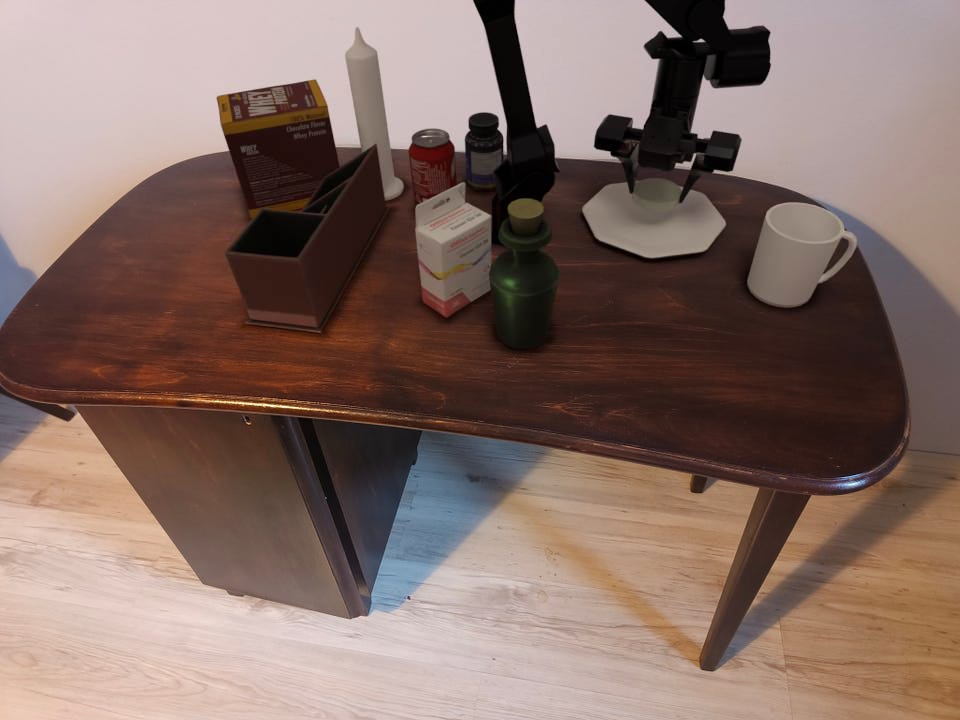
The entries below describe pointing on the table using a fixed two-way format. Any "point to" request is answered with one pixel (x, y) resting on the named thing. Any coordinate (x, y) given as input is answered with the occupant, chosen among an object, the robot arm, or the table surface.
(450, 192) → the ink cartridge box
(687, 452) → the table surface
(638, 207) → the plate
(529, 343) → the potion bottle
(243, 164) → the supplement box
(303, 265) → the desk organizer
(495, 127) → the pill bottle
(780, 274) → the mug
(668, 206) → the green cylinder
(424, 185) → the soda can
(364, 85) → the candle
